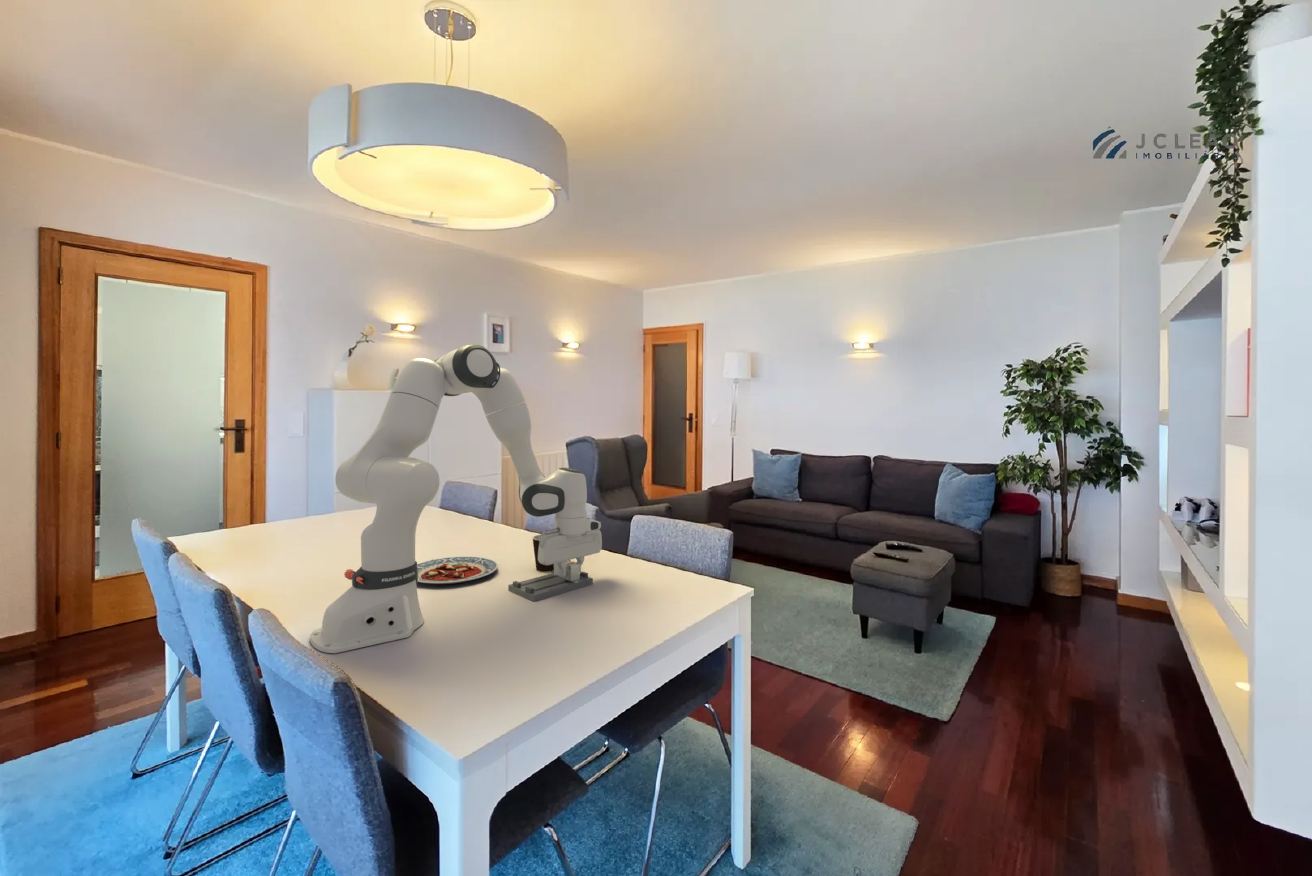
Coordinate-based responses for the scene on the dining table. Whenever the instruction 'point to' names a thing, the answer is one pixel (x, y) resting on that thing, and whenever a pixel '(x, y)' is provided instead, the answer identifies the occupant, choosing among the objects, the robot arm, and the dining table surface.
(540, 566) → the coffee mug
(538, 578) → the grey slider board
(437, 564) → the ceramic plate
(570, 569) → the block
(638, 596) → the dining table surface
